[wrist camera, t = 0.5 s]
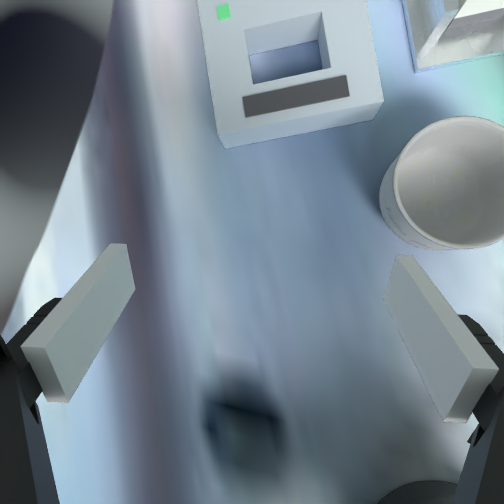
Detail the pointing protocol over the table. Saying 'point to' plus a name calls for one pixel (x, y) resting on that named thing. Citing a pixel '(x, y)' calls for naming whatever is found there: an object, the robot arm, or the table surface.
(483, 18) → the plug
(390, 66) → the table surface
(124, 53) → the table surface
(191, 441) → the table surface
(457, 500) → the robot arm
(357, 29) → the switch box
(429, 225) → the teacup
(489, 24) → the holster
